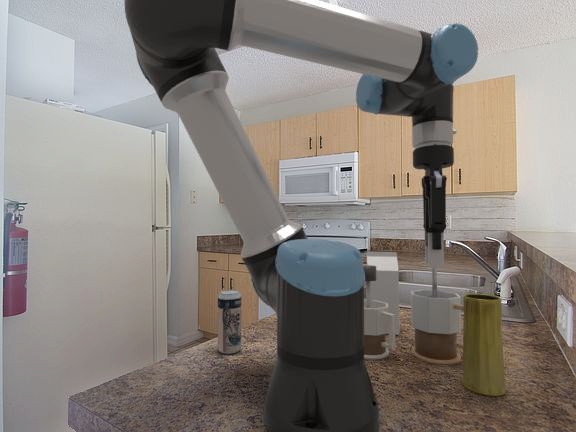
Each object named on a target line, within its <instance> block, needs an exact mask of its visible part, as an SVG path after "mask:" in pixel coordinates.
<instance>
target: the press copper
mask: <svg viewBox="0 0 576 432" xmlns="http://www.w3.org/2000/svg"><path fill="white" fill-rule="evenodd" d="M423 296H432V289H418V290H411V291H410V309H411V310H410V318H411V319H410V321H411V322H410V323H411V325H412V328H413V329H414V346H412V347H411V355H412V356H413V357H415V358H416V359H417V360H420V361H422V362H426V363H429V364H434V365H441V366H442V365H443V366H446V365H456V364H458V363H460V362H461V359H462V356H461V354H460V353H459V352H458V349H460V350H463V342H458V333H459V332H462V311H463V312H464V304H462V302H461V301H462V297H461V295H459V294H458V293H457V292H452V291H446V290H438V289H437V297H443V298H428V297H423ZM444 298H448V299H444Z"/></svg>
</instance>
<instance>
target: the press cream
mask: <svg viewBox="0 0 576 432" xmlns="http://www.w3.org/2000/svg"><path fill="white" fill-rule="evenodd" d="M363 267H364V272H365V299H364V360H371V361H372V360H373V361H374V360H375V361H376V360H378V361H379V360H383V359H385V358H388V357H389V356H390V350H391V351H395V350H396V335H395V315H394V314H390V313H388V303H384V302H380V301H375V300H371V281H376V266H373V265H367V264H363ZM388 318H389V332H388ZM386 333H389V334H388V342H387V339H386V337H387V336H386V335H387V334H386Z"/></svg>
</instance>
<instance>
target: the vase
mask: <svg viewBox="0 0 576 432" xmlns="http://www.w3.org/2000/svg"><path fill="white" fill-rule="evenodd" d="M463 306H464V311H463V324H462V325H463V328H462V329H463V331H462V332H463V334H462V335H463V337H462V339H463V341H462V343H463V349H462V371H463V372H462V379H461V384H462V386H463V387H465V388H466V389H467V390H469V391H471V392H473V393H476V394H478V395H482V396H483V395H484V396H488V397H499V396H503V395H505V394H506V392H507V386H506V378H505V377H506V376H505V364H504V363H505V362H504V347H503V324H502V322H503V321H502V320H503V319H502V316H503V314H502V297H501V296H497V295H494V294H493V295H492V294H487V293H486V294H485V293H477V292H476V293H471V292H470V293H465V294H464V295H463Z"/></svg>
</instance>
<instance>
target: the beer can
mask: <svg viewBox="0 0 576 432" xmlns="http://www.w3.org/2000/svg"><path fill="white" fill-rule="evenodd" d="M242 299H243V298H242V294H241V293H240V290H235V289H230V290H229V289H227V290H222V291H219V294H218V296H217V351H218V352H219V353H221V354H225V355H233V354H236V353H238V352H239V351H240V350H242Z"/></svg>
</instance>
